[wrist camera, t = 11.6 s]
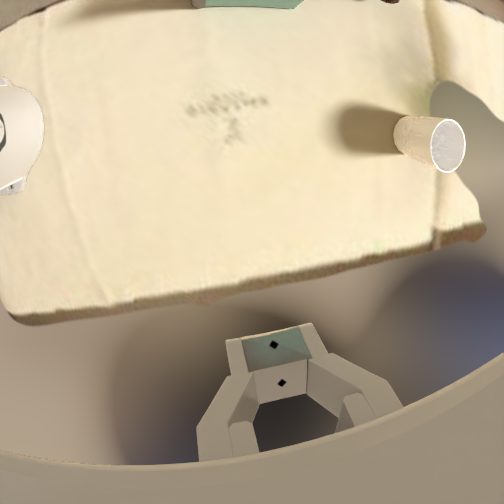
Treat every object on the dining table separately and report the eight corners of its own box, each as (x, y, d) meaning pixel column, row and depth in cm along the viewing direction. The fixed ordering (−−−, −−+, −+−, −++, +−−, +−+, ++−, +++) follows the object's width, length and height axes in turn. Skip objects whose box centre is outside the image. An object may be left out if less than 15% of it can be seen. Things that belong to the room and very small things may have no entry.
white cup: (382, 128, 42) (422, 138, 33) (412, 103, 41) (454, 109, 32) (403, 167, 45) (442, 183, 37) (431, 141, 44) (471, 153, 35)
